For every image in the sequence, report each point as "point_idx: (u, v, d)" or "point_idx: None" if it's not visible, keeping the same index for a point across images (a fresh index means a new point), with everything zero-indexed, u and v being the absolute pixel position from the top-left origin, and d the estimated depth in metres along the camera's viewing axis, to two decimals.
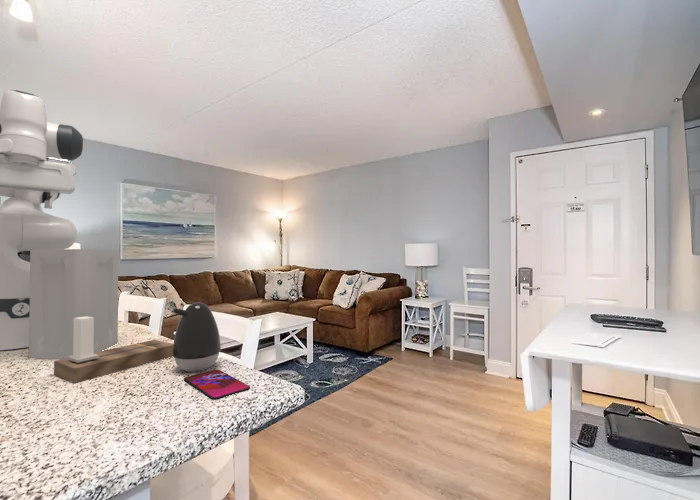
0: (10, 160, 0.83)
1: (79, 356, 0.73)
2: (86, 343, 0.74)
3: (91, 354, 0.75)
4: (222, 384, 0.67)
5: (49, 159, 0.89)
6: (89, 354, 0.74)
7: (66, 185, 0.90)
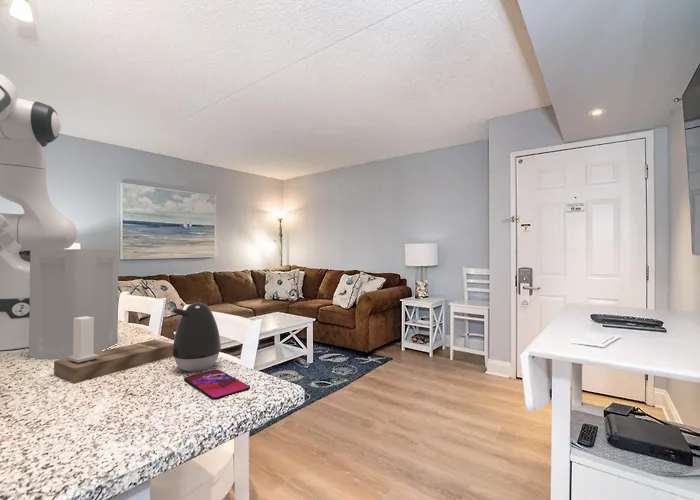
0: None
1: (79, 356, 0.73)
2: (86, 343, 0.74)
3: (91, 354, 0.75)
4: (222, 384, 0.67)
5: None
6: (89, 354, 0.74)
7: None
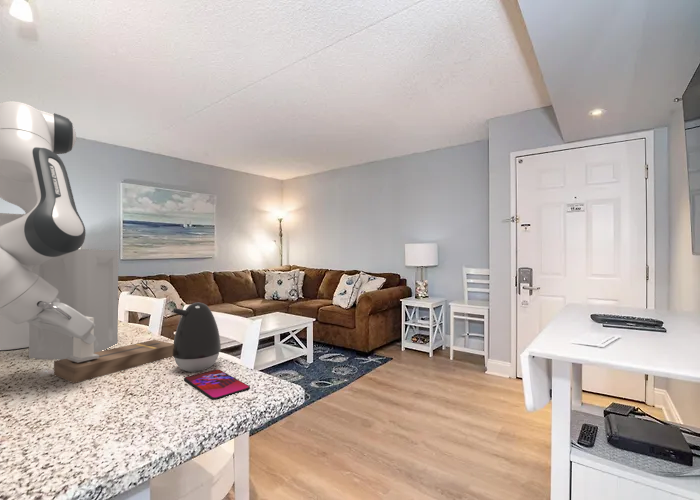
0: None
1: (79, 356, 0.73)
2: (86, 343, 0.74)
3: (91, 354, 0.75)
4: (222, 384, 0.67)
5: (41, 307, 0.65)
6: (89, 354, 0.74)
7: (73, 335, 0.67)
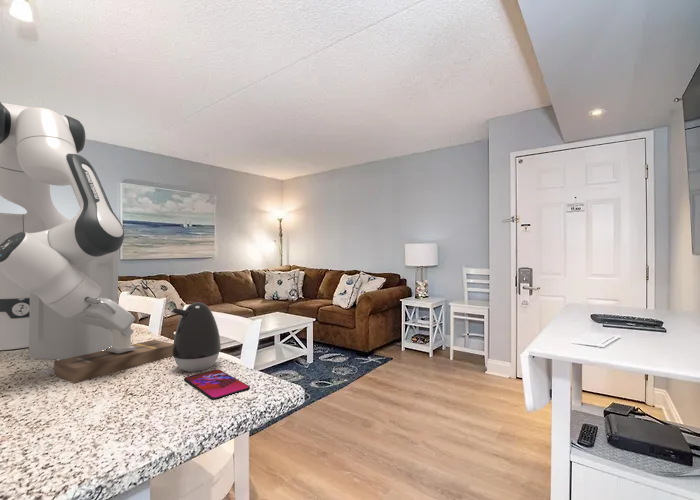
0: None
1: (118, 348, 0.80)
2: (124, 336, 0.81)
3: (128, 346, 0.81)
4: (222, 384, 0.67)
5: (88, 302, 0.72)
6: (126, 346, 0.81)
7: (116, 328, 0.73)
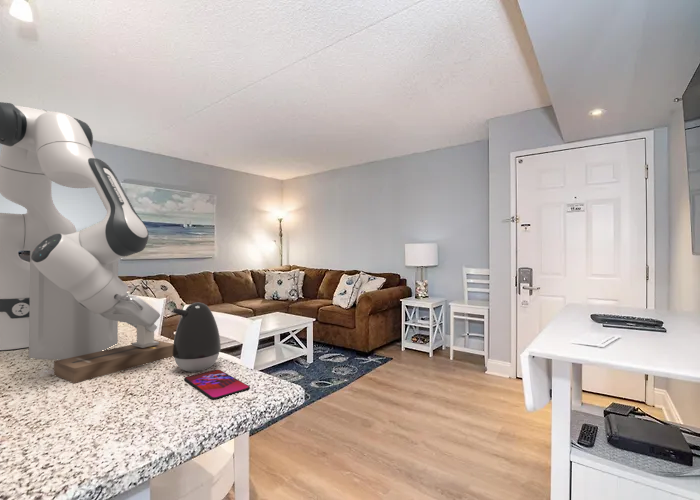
0: None
1: (143, 342, 0.85)
2: (148, 331, 0.85)
3: (152, 341, 0.86)
4: (222, 384, 0.67)
5: (117, 299, 0.77)
6: (150, 341, 0.86)
7: (143, 323, 0.78)
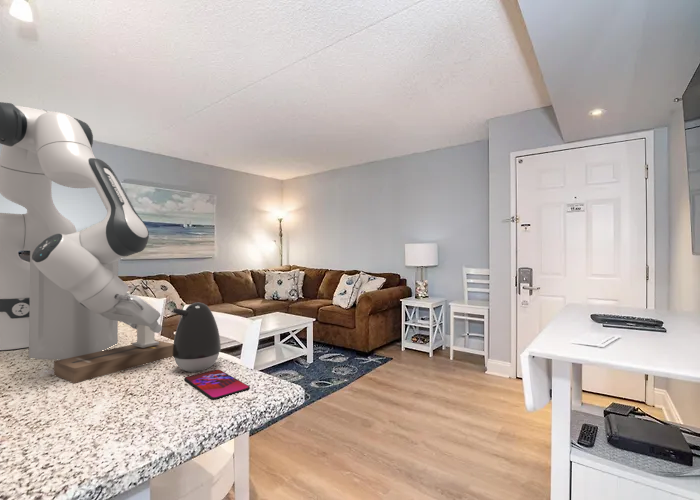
0: None
1: (143, 342, 0.85)
2: (149, 331, 0.86)
3: (152, 341, 0.86)
4: (222, 384, 0.67)
5: (117, 299, 0.77)
6: (151, 340, 0.86)
7: (143, 323, 0.78)
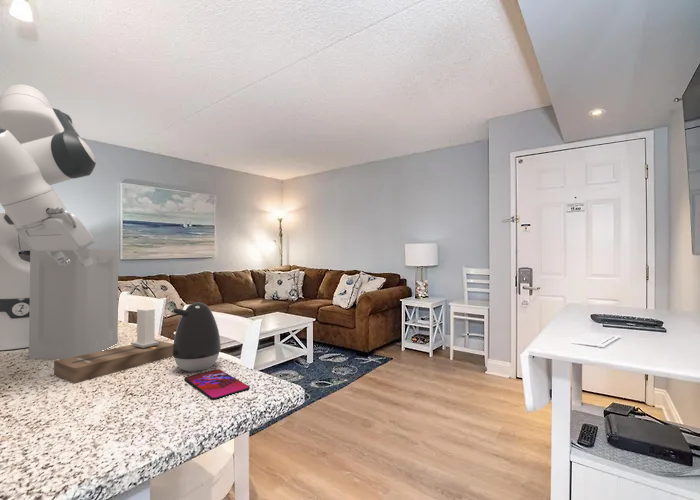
0: None
1: (143, 342, 0.85)
2: (149, 331, 0.86)
3: (152, 341, 0.86)
4: (222, 384, 0.67)
5: (49, 213, 0.69)
6: (151, 340, 0.86)
7: (72, 245, 0.70)
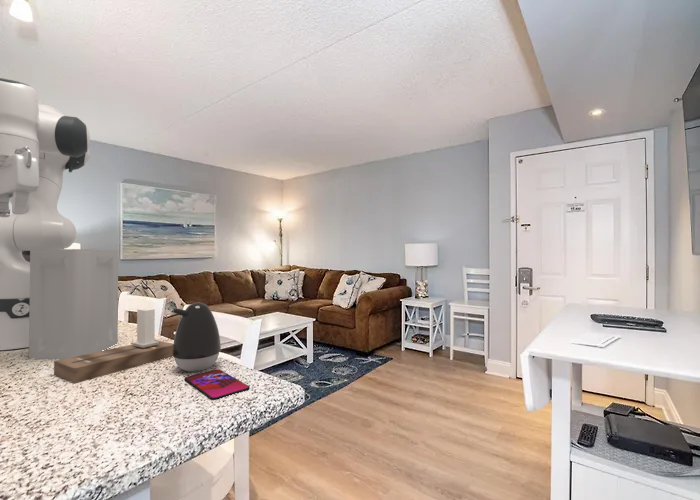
0: None
1: (143, 342, 0.85)
2: (149, 331, 0.86)
3: (152, 341, 0.86)
4: (222, 384, 0.67)
5: (16, 152, 0.72)
6: (151, 340, 0.86)
7: (13, 181, 0.69)
